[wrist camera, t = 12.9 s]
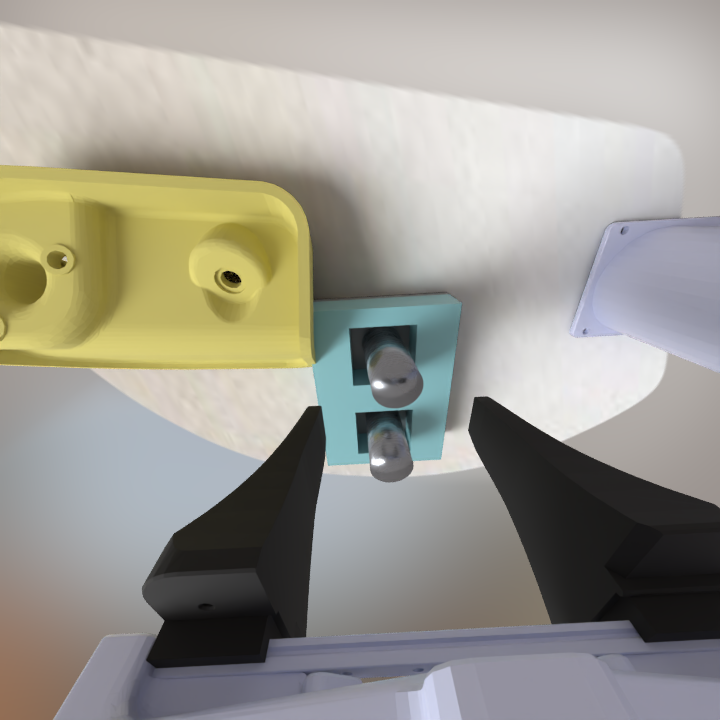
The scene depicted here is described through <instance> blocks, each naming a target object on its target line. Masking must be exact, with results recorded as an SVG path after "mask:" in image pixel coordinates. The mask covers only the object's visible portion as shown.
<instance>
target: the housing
mask: <svg viewBox="0 0 720 720" xmlns="http://www.w3.org/2000/svg"><path fill="white" fill-rule="evenodd" d="M461 308H462V303H461V302H460V301H458V300H457V299H455V298H454V297H453V296H451V295H450V294H449V293H447V292H442V293H425V294H407V295H390V296H372V297H355V298H337V299H320V300H313V322H314V348H315V358H316V364H312V366H313V373H314V379H315V385H316V392H317V398H318V404H319V406H321V407H322V413H323V420H324V426H325V433H326V455H327V462H328V466H330V465H348V464H366V463H370V461H369V450H368V439H367V428H366V418H365V412H377V411H395V410H398V411H399V414H400V418H401V421H402V425H403V428H404V432H405V436H406V439H407V443H408V446H409V450H410V454H411V457H412V461H421V460H439V459H441V456H442V448H443V441H444V433H445V426H446V419H447V411H448V404H449V396H450V389H451V382H452V374H453V367H454V359H455V352H456V345H457V337H458V330H459V322H460V315H461ZM383 326H390V327H392V328H394V329H395V330H396V331H397V332H398V334H399V336H400V337H401V339H402V341H403V343H404V345H405V347H406V348H407V350H408V352H409V354H410V356H411V357H412V359H413V361H414V363H415V365H416V367H417V368H418V370H419V372H420V374H421V376H422V378H423V383H424V385H423V390H422V393H421V394H420V396H419V397H418V398H417V399H416V400H415V401H414V402H413V403H411V404H410V405H408V406H405V407H402V408H387V407H384V406H382V405H380V404H379V403H377V402H376V400H375V399H374V397H373V395H372V391H371V386H370V381H369V377H368V372H367V367H366V362H365V357H364V353H363V348H362V341H363V337H364V335H365V334H366V333H367V332H368V331H369V330H370V329H371V328H373V327H383Z"/></svg>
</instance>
